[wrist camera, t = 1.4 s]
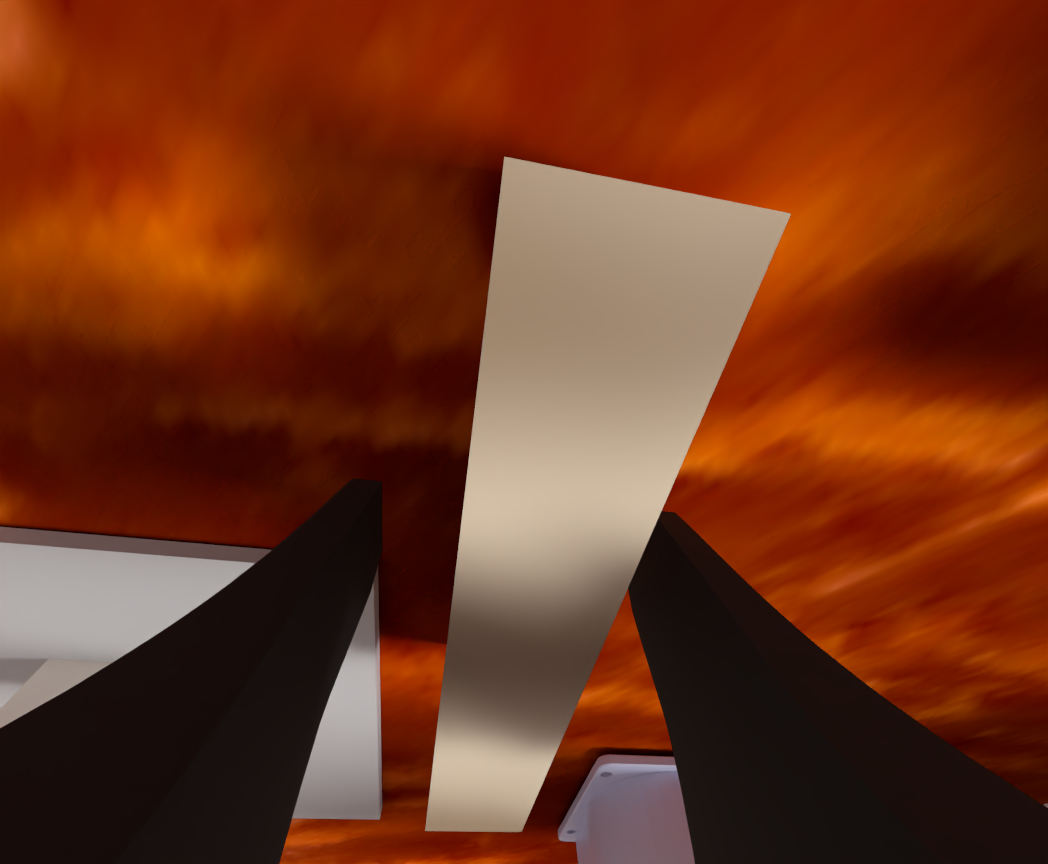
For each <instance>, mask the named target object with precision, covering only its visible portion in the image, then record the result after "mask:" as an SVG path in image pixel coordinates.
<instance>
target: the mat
mask: <svg viewBox="0 0 1048 864" xmlns="http://www.w3.org/2000/svg"><path fill="white" fill-rule="evenodd" d="M270 551H271V550H269V549H257V548H245V547H234V546H222V545H210V544H198V543H186V542H175V541H163V540H151V539H139V538H128V537H116V536H104V535H92V534H81V533H69V532H57V531H45V530H33V529H22V528H10V527H0V709H1V708H2V707H3V706H4V705H5V704H6V703H7V702H8V700H9V699H10V698H11V697H12V696H13V695H14V694H15V693H16V692H17V691H18V690H19V689H20V688H21V687H22V686H23V685H24V684H25V683H26V682H27V681H28V680H29V679H30V678H31V677H32V676H33V675H34V673H35V672H36V671H37V670H38V669H39V668H40V667H41V666H42V665H43V664H44V663H45V662H46V661H47V660H48V659H61V660H80V661H99V662H114V661H116V660H117V659H119V658H121V657H122V656H124V655H125V654H127V653H128V652H130V651H132V650H133V649H135V648H136V647H138V646H139V645H141V644H142V643H144V642H146V641H147V640H149V639H150V638H152V637H153V636H155V635H157V634H158V633H160V632H161V631H163V630H164V629H166V628H167V627H169V626H170V625H172V624H173V623H175V622H176V621H177V620H179V619H180V618H182V617H183V616H185V615H186V614H188V613H189V612H191V611H192V610H194V609H195V608H196V607H198V606H199V605H201V604H202V603H203V602H205V601H206V600H208V599H209V598H210V597H212V596H213V595H215V594H216V593H217V592H219V591H220V590H221V589H223V588H224V587H225V586H227V585H228V584H229V583H231V582H232V581H233V580H235V579H236V578H237V577H238V576H240V575H241V574H242V573H244V572H245V571H246V570H247V569H249V568H250V567H251V566H252V565H254V564H255V563H256V562H258V561H259V560H260V559H261V558H263V557H264V556H265V555H266V554H268V553H269V552H270ZM381 810H382V763H381V706H380V648H379V590H378V567H377V571H376V575H375V578H374V582H373V586H372V589H371V592H370V595H369V598H368V600H367V603H366V605H365V608H364V611H363V613H362V616H361V618H360V621H359V623H358V626H357V629H356V631H355V634H354V636H353V639H352V641H351V644H350V646H349V649H348V651H347V654H346V656H345V659H344V661H343V664H342V666H341V669H340V671H339V674H338V677H337V679H336V682H335V684H334V687H333V689H332V692H331V694H330V697H329V700H328V702H327V705H326V708H325V711H324V714H323V717H322V719H321V722H320V725H319V729H318V732H317V735H316V739H315V742H314V745H313V749H312V752H311V755H310V759H309V762H308V765H307V769H306V772H305V775H304V779H303V782H302V785H301V789H300V792H299V796H298V799H297V803H296V806H295V810H294V813H293V817H292V818H309V819H379V820H380V815H381Z"/></svg>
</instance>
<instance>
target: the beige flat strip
mask: <svg viewBox="0 0 1048 864" xmlns="http://www.w3.org/2000/svg"><path fill="white" fill-rule="evenodd" d="M790 215H791V213H786V212H781V211H776V210H770V209H765V208H760V207H755V206H750V205H745V204H740V203H735V202H730V201H725V200H720V199H715V198H710V197H705V196H700V195H695V194H690V193H685V192H680V191H675V190H670V189H665V188H660V187H655V186H650V185H645V184H640V183H635V182H630V181H625V180H620V179H615V178H610V177H605V176H600V175H595V174H590V173H585V172H580V171H575V170H569V169H564V168H559V167H554V166H549V165H544V164H539V163H534V162H529V161H524V160H519V159H514V158H509V157H504V164H503V172H502V181H501V189H500V198H499V206H498V215H497V223H496V232H495V240H494V249H493V257H492V266H491V274H490V283H489V291H488V300H487V308H486V317H485V325H484V334H483V342H482V351H481V359H480V368H479V376H478V385H477V393H476V402H475V410H474V419H473V427H472V436H471V444H470V453H469V461H468V470H467V478H466V487H465V495H464V504H463V512H462V521H461V529H460V538H459V546H458V555H457V563H456V572H455V580H454V589H453V597H452V606H451V614H450V623H449V631H448V640H447V648H446V657H445V665H444V674H443V682H442V691H441V699H440V708H439V716H438V725H437V733H436V742H435V750H434V759H433V767H432V776H431V784H430V793H429V801H428V810H427V819H426V827H425V831H478V832H522V830H523V827H524V825H525V823H526V821H527V818H528V816H529V814H530V811H531V809H532V807H533V804H534V802H535V800H536V798H537V795H538V793H539V791H540V788H541V786H542V784H543V782H544V779H545V777H546V775H547V772H548V770H549V768H550V765H551V763H552V761H553V759H554V756H555V754H556V752H557V749H558V747H559V745H560V743H561V740H562V738H563V736H564V733H565V731H566V729H567V727H568V724H569V722H570V720H571V717H572V715H573V713H574V710H575V708H576V706H577V704H578V701H579V699H580V697H581V694H582V692H583V690H584V688H585V685H586V683H587V681H588V678H589V676H590V674H591V671H592V669H593V667H594V665H595V662H596V660H597V658H598V655H599V653H600V651H601V649H602V646H603V644H604V642H605V639H606V637H607V635H608V632H609V630H610V628H611V626H612V623H613V621H614V619H615V616H616V614H617V612H618V610H619V607H620V605H621V603H622V600H623V598H624V596H625V593H626V591H627V589H628V587H629V584H630V582H631V580H632V577H633V575H634V573H635V571H636V568H637V566H638V564H639V561H640V559H641V557H642V554H643V552H644V550H645V548H646V545H647V543H648V541H649V538H650V536H651V534H652V532H653V529H654V527H655V525H656V522H657V520H658V518H659V515H660V513H661V511H662V509H663V506H664V504H665V502H666V499H667V497H668V495H669V493H670V490H671V488H672V486H673V483H674V481H675V479H676V476H677V474H678V472H679V470H680V467H681V465H682V463H683V460H684V458H685V456H686V454H687V451H688V449H689V447H690V444H691V442H692V440H693V438H694V435H695V433H696V431H697V428H698V426H699V424H700V421H701V419H702V417H703V415H704V412H705V410H706V408H707V405H708V403H709V401H710V399H711V396H712V394H713V392H714V389H715V387H716V385H717V382H718V380H719V378H720V376H721V373H722V371H723V369H724V366H725V364H726V362H727V360H728V357H729V355H730V353H731V350H732V348H733V346H734V343H735V341H736V339H737V337H738V334H739V332H740V330H741V327H742V325H743V323H744V321H745V318H746V316H747V314H748V311H749V309H750V307H751V304H752V302H753V300H754V298H755V295H756V293H757V291H758V288H759V286H760V284H761V282H762V279H763V277H764V275H765V272H766V270H767V268H768V265H769V263H770V261H771V259H772V256H773V254H774V252H775V249H776V247H777V245H778V243H779V240H780V238H781V236H782V233H783V231H784V229H785V226H786V224H787V222H788V220H789V217H790Z"/></svg>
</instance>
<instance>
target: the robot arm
mask: <svg viewBox="0 0 1048 864" xmlns="http://www.w3.org/2000/svg"><path fill="white" fill-rule="evenodd" d="M381 552H382V482H381V481H371V480H362V479H352V480H351V481H349V482H348V483H347V484H346V485H345V486H344V487H342V488H341V489H340V490H339V491H338V492H337V493H336V494H335V495H334V496H333V497H332V498H331V499H330V500H329V501H327V502H326V503H325V504H324V505H323V506H322V507H321V508H320V509H319V510H318V511H317V512H315V513H314V514H313V515H312V516H311V517H310V518H309V519H308V520H307V521H305V522H304V523H303V524H302V525H301V526H300V527H298V528H297V529H296V530H295V531H294V532H293V533H291V534H290V535H289V536H288V537H287V538H286V539H284V540H283V541H282V542H281V543H280V544H279V545H277V546H276V547H275V548H274V549H273V550H271V551H270V552H269V553H268V554H266V555H265V556H264V557H263V558H261V559H260V560H259V561H258V562H256V563H255V564H254V565H252V566H251V567H250V568H249V569H247V570H246V571H245V572H244V573H242V574H241V575H240V576H238V577H237V578H236V579H235V580H233V581H232V582H231V583H229V584H228V585H227V586H225V587H224V588H223V589H221V590H220V591H219V592H217V593H216V594H215V595H213V596H212V597H210V598H209V599H208V600H206V601H205V602H203V603H202V604H201V605H199V606H198V607H196V608H195V609H194V610H192V611H191V612H189V613H188V614H186V615H185V616H183V617H182V618H180V619H179V620H177V621H176V622H175V623H173V624H172V625H170V626H169V627H167V628H166V629H164V630H163V631H161V632H160V633H158V634H157V635H155V636H153V637H152V638H150V639H149V640H147V641H146V642H144V643H142V644H141V645H139V646H138V647H136V648H135V649H133V650H132V651H130V652H128V653H127V654H125V655H124V656H122V657H121V658H119V659H117V660H116V661H114V662H112V663H111V664H109V665H108V666H106V667H104V668H103V669H101V670H99V671H98V672H96V673H95V674H93V675H91V676H90V677H88V678H86V679H85V680H83V681H82V682H80V683H78V684H77V685H75V686H73V687H72V688H70V689H68V690H67V691H65V692H63V693H61V694H59V695H58V696H56V697H54V698H52V699H51V700H49V701H47V702H45V703H44V704H42V705H40V706H38V707H37V708H35V709H33V710H31V711H30V712H28V713H26V714H24V715H22V716H21V717H19V718H17V719H15V720H14V721H12V722H10V723H8V724H7V725H5V726H3V727H1V728H0V864H279V862H280V859H281V855H282V851H283V848H284V844H285V841H286V837H287V834H288V830H289V827H290V823H291V820H292V817H293V813H294V810H295V806H296V803H297V799H298V796H299V792H300V789H301V785H302V782H303V779H304V775H305V772H306V769H307V765H308V762H309V759H310V755H311V752H312V749H313V745H314V742H315V739H316V735H317V732H318V729H319V725H320V722H321V719H322V717H323V714H324V711H325V708H326V705H327V702H328V700H329V697H330V694H331V692H332V689H333V687H334V684H335V682H336V679H337V677H338V674H339V671H340V669H341V666H342V664H343V661H344V659H345V656H346V654H347V651H348V649H349V646H350V644H351V641H352V639H353V636H354V634H355V631H356V629H357V626H358V623H359V621H360V618H361V616H362V613H363V611H364V608H365V605H366V603H367V600H368V598H369V595H370V592H371V589H372V586H373V582H374V578H375V575H376V571H377V567H378V564H379V560H380V556H381ZM628 590H629V596H630V601H631V606H632V611H633V615H634V618H635V622H636V625H637V629H638V632H639V635H640V639H641V642H642V645H643V648H644V652H645V655H646V658H647V661H648V665H649V668H650V671H651V674H652V678H653V681H654V684H655V687H656V691H657V694H658V697H659V700H660V703H661V707H662V710H663V713H664V717H665V721H666V724H667V728H668V732H669V736H670V740H671V745H672V749H673V754H674V757H670V756H641V755H612V754H609V755H602V756H600V757H599V758H598V759H597V760H596V762H595V764H594V766H593V768H592V769H591V771H590V773H589V775H588V777H587V778H586V780H585V782H584V784H583V786H582V787H581V789H580V791H579V793H578V795H577V796H576V798H575V800H574V802H573V804H572V805H571V807H570V809H569V811H568V813H567V814H566V816H565V818H564V820H563V822H562V823H561V825H560V827H559V829H558V839H559V840H560V841H565V842H576V847H577V857H578V864H1048V808H1047V807H1046V806H1044V805H1042V804H1041V803H1039V802H1037V801H1036V800H1034V799H1033V798H1031V797H1030V796H1028V795H1026V794H1025V793H1023V792H1022V791H1020V790H1019V789H1017V788H1016V787H1014V786H1012V785H1011V784H1009V783H1008V782H1006V781H1005V780H1003V779H1002V778H1000V777H999V776H997V775H996V774H994V773H992V772H991V771H989V770H988V769H986V768H985V767H983V766H982V765H980V764H979V763H977V762H976V761H974V760H972V759H971V758H969V757H968V756H966V755H965V754H963V753H962V752H961V751H959V750H958V749H956V748H955V747H953V746H952V745H950V744H949V743H947V742H946V741H944V740H943V739H941V738H940V737H938V736H937V735H936V734H934V733H933V732H931V731H930V730H928V729H927V728H926V727H924V726H923V725H921V724H920V723H919V722H917V721H916V720H914V719H913V718H912V717H910V716H909V715H907V714H906V713H905V712H903V711H902V710H900V709H899V708H898V707H896V706H895V705H894V704H892V703H891V702H889V701H888V700H887V699H885V698H884V697H882V696H881V695H880V694H878V693H877V692H876V691H874V690H873V689H872V688H870V687H869V686H868V685H866V684H865V683H864V682H862V681H861V680H860V679H859V678H857V677H856V676H855V675H853V674H852V673H851V672H850V671H848V670H847V669H846V668H845V667H843V666H842V665H841V664H840V663H838V662H837V661H836V660H835V659H833V658H832V657H831V656H830V655H828V654H827V653H826V652H825V651H823V650H822V649H821V648H820V647H818V646H817V645H816V644H815V643H814V642H812V641H811V640H810V639H809V638H808V637H807V636H805V635H804V634H803V633H802V632H801V631H800V630H798V629H797V628H796V627H795V626H794V625H793V624H792V623H791V622H789V621H788V620H787V619H786V618H785V617H784V616H783V615H782V614H780V613H779V612H778V611H777V610H776V609H775V608H774V607H773V606H771V605H770V604H769V603H768V602H767V601H766V600H765V599H764V598H763V597H762V596H761V595H760V594H758V593H757V592H756V591H755V590H754V589H753V588H752V587H751V586H750V585H749V584H748V583H747V582H746V581H745V580H744V579H743V578H742V577H741V576H740V575H739V574H737V573H736V572H735V571H734V570H733V569H732V568H731V567H730V566H729V565H728V564H727V563H726V562H725V561H724V560H723V559H722V558H721V557H720V556H719V555H718V554H717V553H716V552H715V551H714V550H713V549H712V548H711V547H710V546H709V545H708V544H707V543H706V542H705V541H704V540H703V539H702V538H701V537H700V536H699V535H698V534H697V533H696V532H695V531H694V530H693V529H692V528H691V527H690V526H689V525H688V524H687V523H686V522H685V521H683V520H682V519H681V518H680V517H679V516H678V515H677V514H676V513H673V512H664V511H661V513H660V515H659V518H658V520H657V522H656V525H655V527H654V529H653V532H652V534H651V536H650V538H649V541H648V543H647V545H646V548H645V550H644V552H643V554H642V557H641V559H640V561H639V564H638V566H637V568H636V571H635V573H634V575H633V577H632V580H631V582H630V584H629V587H628Z"/></svg>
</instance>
